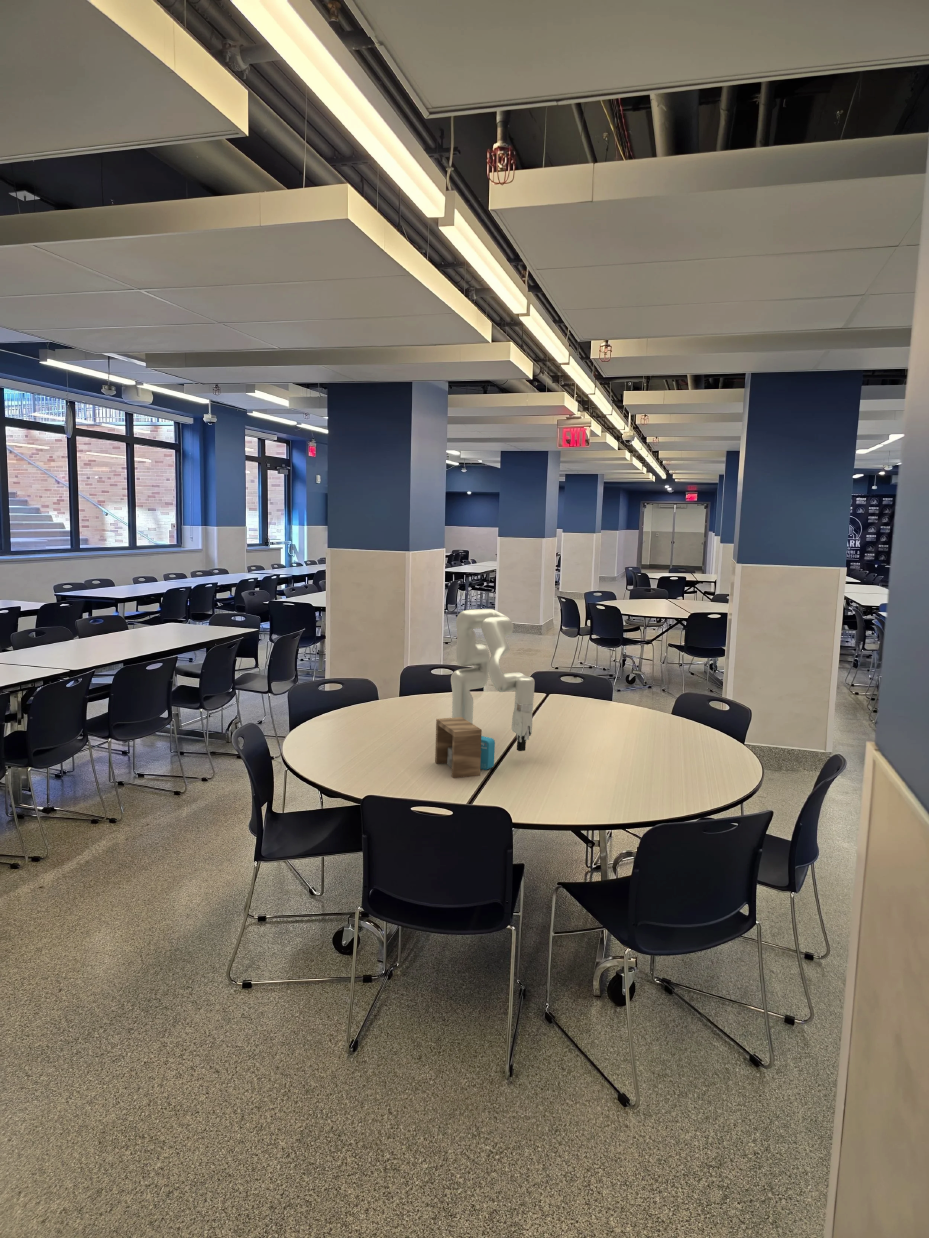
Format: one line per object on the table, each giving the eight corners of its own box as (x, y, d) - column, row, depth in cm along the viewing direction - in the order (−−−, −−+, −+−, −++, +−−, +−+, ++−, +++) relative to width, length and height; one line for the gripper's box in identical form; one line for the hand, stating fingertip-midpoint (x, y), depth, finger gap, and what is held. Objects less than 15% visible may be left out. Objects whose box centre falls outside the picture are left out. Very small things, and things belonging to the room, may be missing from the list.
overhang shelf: (435, 762, 297) (436, 718, 295) (460, 760, 301) (461, 717, 299) (453, 778, 278) (454, 731, 276) (480, 775, 283) (481, 729, 281)
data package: (462, 764, 295) (463, 735, 294) (469, 762, 299) (470, 733, 298) (487, 770, 288) (489, 741, 287) (494, 768, 292) (495, 738, 291)
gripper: (507, 702, 304) (504, 745, 306) (523, 712, 290) (521, 756, 293) (523, 701, 307) (520, 744, 309) (540, 711, 293) (537, 755, 296)
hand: (520, 750), depth 301 cm, fingers closed
